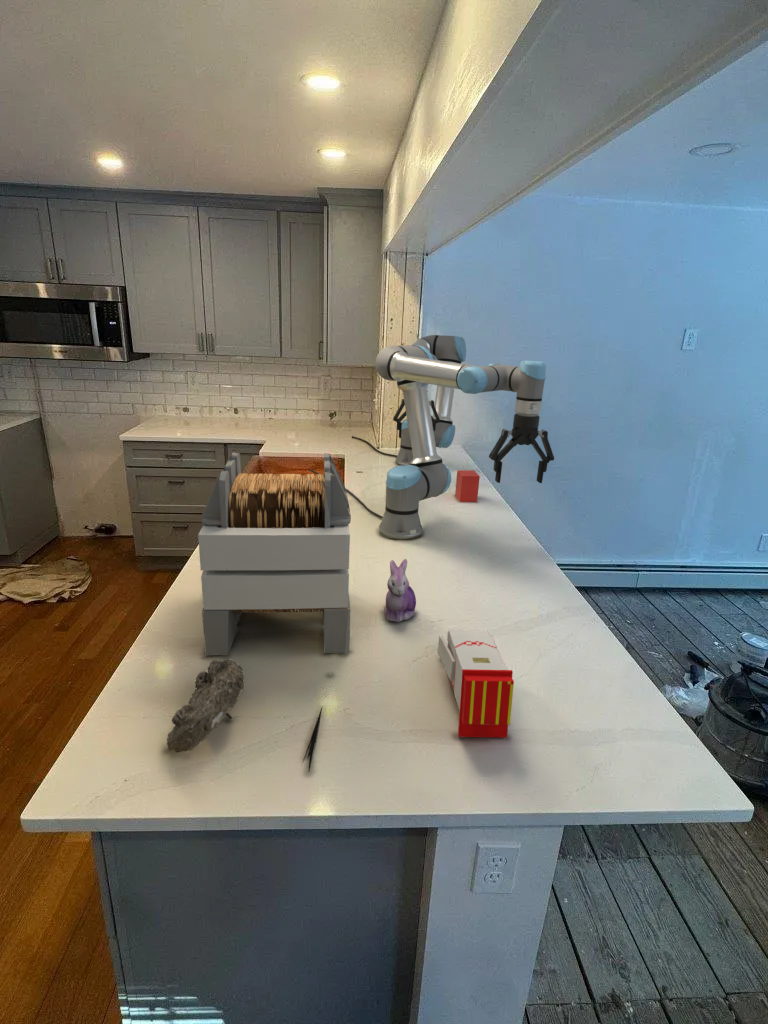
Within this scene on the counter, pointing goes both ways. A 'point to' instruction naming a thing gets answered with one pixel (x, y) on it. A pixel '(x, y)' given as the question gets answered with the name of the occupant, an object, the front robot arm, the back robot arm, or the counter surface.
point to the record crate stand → (275, 551)
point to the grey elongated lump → (206, 705)
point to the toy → (478, 682)
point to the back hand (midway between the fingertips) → (415, 438)
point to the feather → (313, 740)
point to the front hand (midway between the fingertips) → (518, 481)
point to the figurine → (399, 594)
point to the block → (467, 486)
